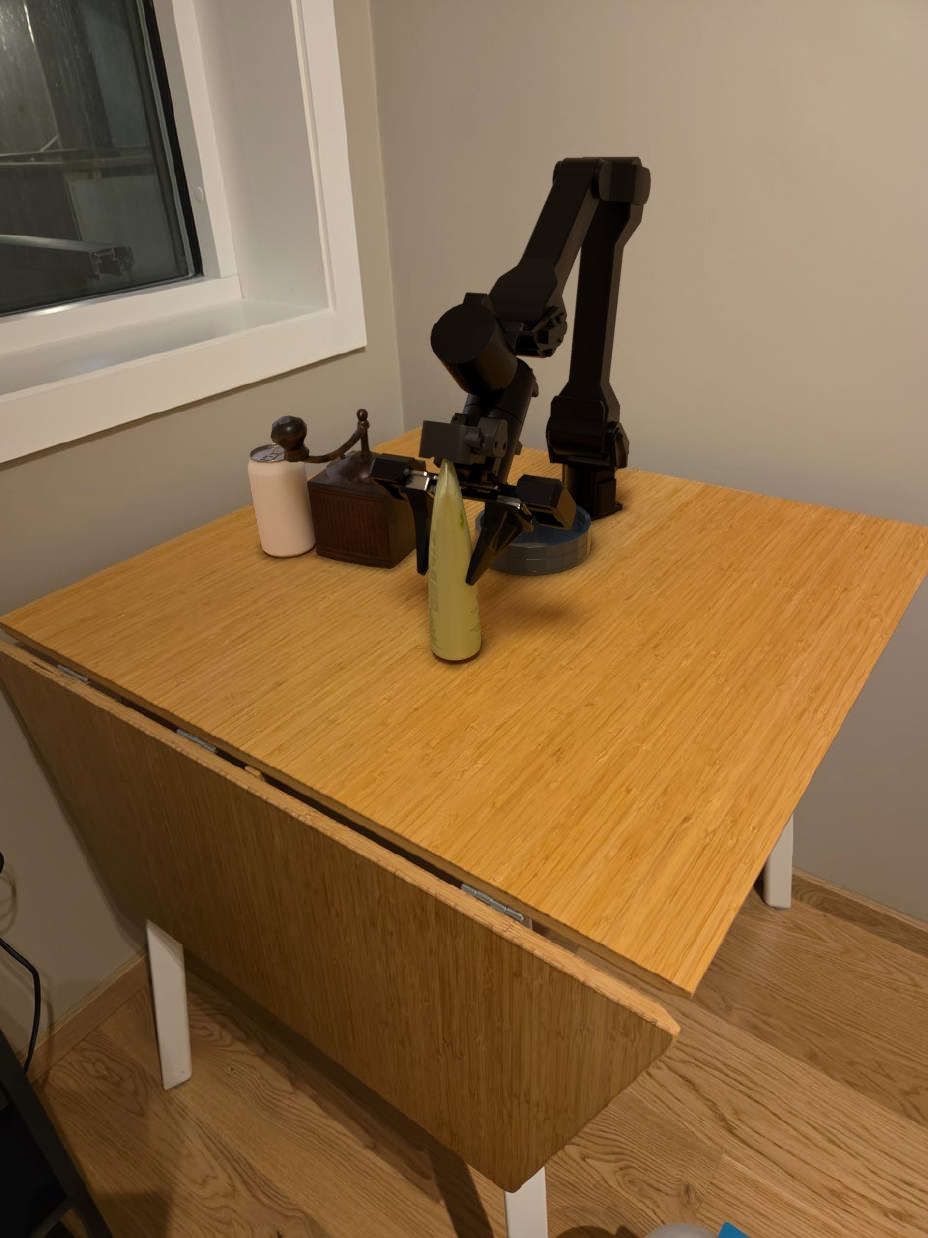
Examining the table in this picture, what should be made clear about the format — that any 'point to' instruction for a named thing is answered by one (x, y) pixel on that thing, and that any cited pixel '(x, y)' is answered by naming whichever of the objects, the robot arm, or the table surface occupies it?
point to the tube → (451, 574)
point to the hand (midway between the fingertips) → (444, 579)
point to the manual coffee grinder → (350, 499)
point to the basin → (544, 547)
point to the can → (281, 502)
